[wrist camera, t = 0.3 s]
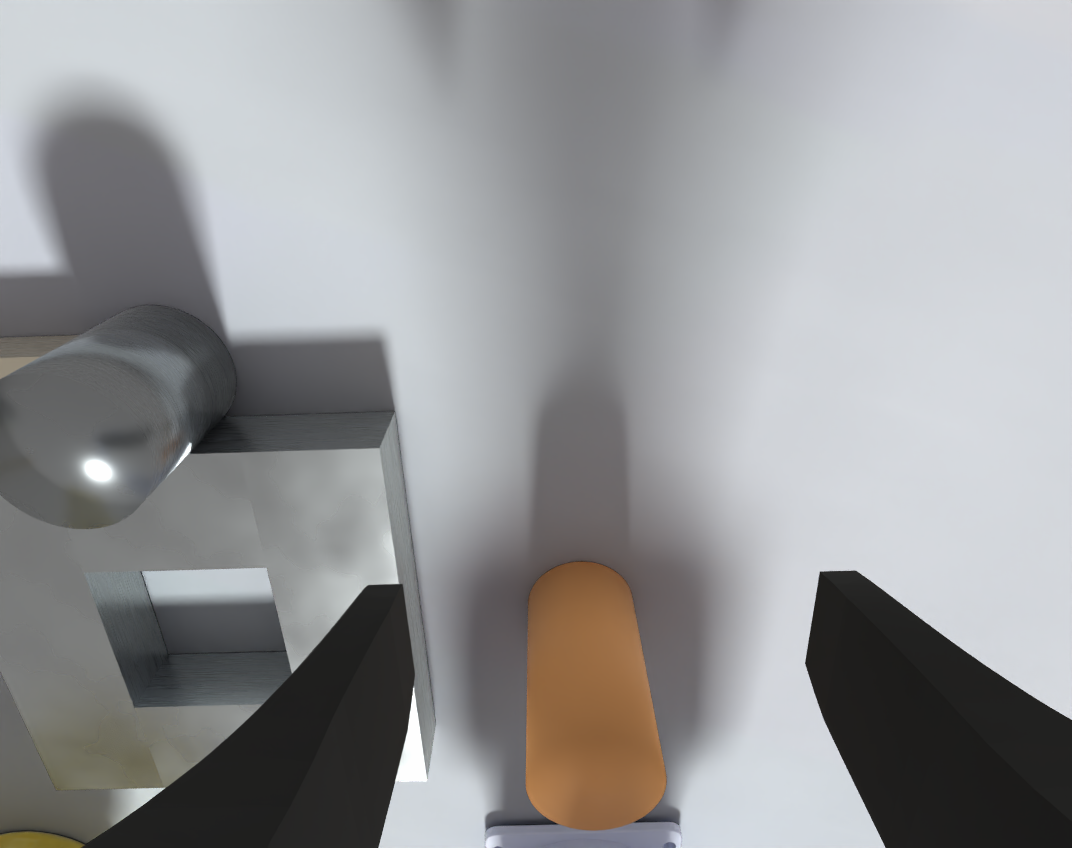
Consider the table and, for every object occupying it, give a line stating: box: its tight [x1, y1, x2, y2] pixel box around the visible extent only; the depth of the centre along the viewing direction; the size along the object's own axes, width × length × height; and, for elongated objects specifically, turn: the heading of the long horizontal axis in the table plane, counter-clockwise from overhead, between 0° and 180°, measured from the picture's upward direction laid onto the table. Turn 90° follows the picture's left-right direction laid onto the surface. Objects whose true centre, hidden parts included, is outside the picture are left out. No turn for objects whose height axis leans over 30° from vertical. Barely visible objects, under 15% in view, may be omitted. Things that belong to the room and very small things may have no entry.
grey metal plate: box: [0, 305, 436, 790], centre depth 21 cm, size 16×20×5 cm
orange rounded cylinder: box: [526, 562, 667, 831], centre depth 21 cm, size 4×4×7 cm
